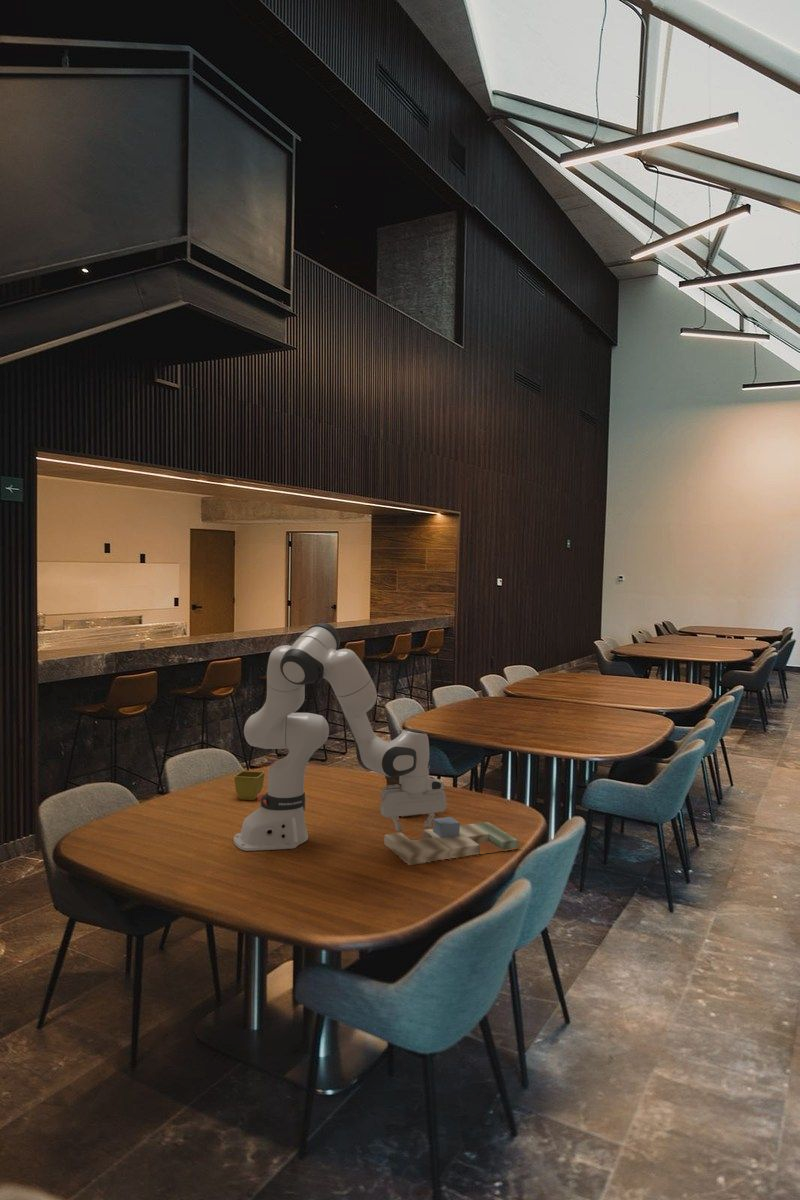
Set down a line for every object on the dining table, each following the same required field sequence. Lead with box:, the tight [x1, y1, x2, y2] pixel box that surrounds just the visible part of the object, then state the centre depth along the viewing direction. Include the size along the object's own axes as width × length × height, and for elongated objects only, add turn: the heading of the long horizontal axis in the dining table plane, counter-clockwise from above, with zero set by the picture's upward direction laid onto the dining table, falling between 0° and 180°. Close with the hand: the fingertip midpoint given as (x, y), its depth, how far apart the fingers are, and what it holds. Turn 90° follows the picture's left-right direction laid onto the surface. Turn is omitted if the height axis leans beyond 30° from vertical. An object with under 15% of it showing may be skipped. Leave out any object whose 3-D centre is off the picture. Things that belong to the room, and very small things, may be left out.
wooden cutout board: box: [383, 821, 519, 866], centre depth 231 cm, size 36×18×3 cm, turn 113°
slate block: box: [432, 816, 461, 838], centre depth 234 cm, size 6×6×4 cm
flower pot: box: [234, 770, 265, 801], centre depth 276 cm, size 9×9×9 cm
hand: (413, 828), depth 228 cm, fingers open, 8 cm apart
